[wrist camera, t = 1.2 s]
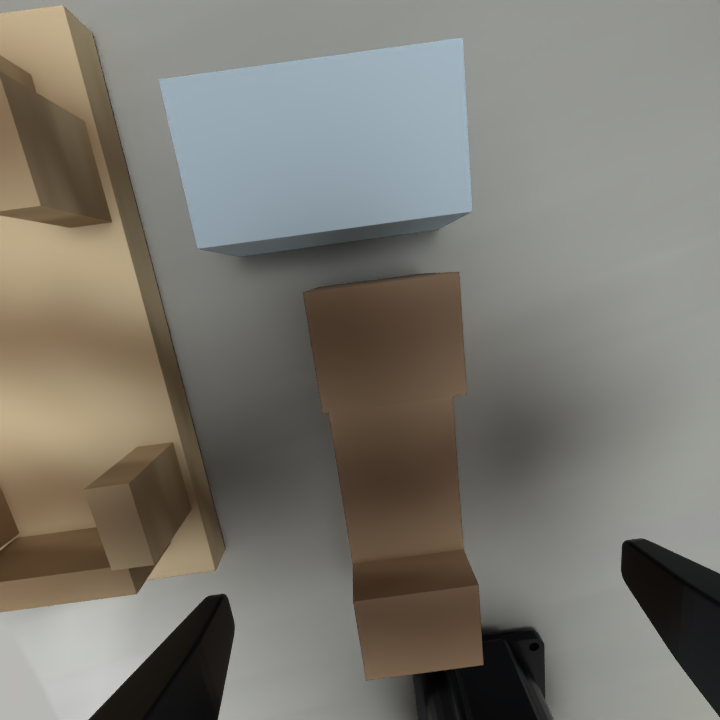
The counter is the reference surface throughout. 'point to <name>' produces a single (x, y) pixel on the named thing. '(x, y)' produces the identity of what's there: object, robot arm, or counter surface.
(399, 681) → the counter surface
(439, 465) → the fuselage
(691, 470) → the counter surface
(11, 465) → the jig
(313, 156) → the light blue block
